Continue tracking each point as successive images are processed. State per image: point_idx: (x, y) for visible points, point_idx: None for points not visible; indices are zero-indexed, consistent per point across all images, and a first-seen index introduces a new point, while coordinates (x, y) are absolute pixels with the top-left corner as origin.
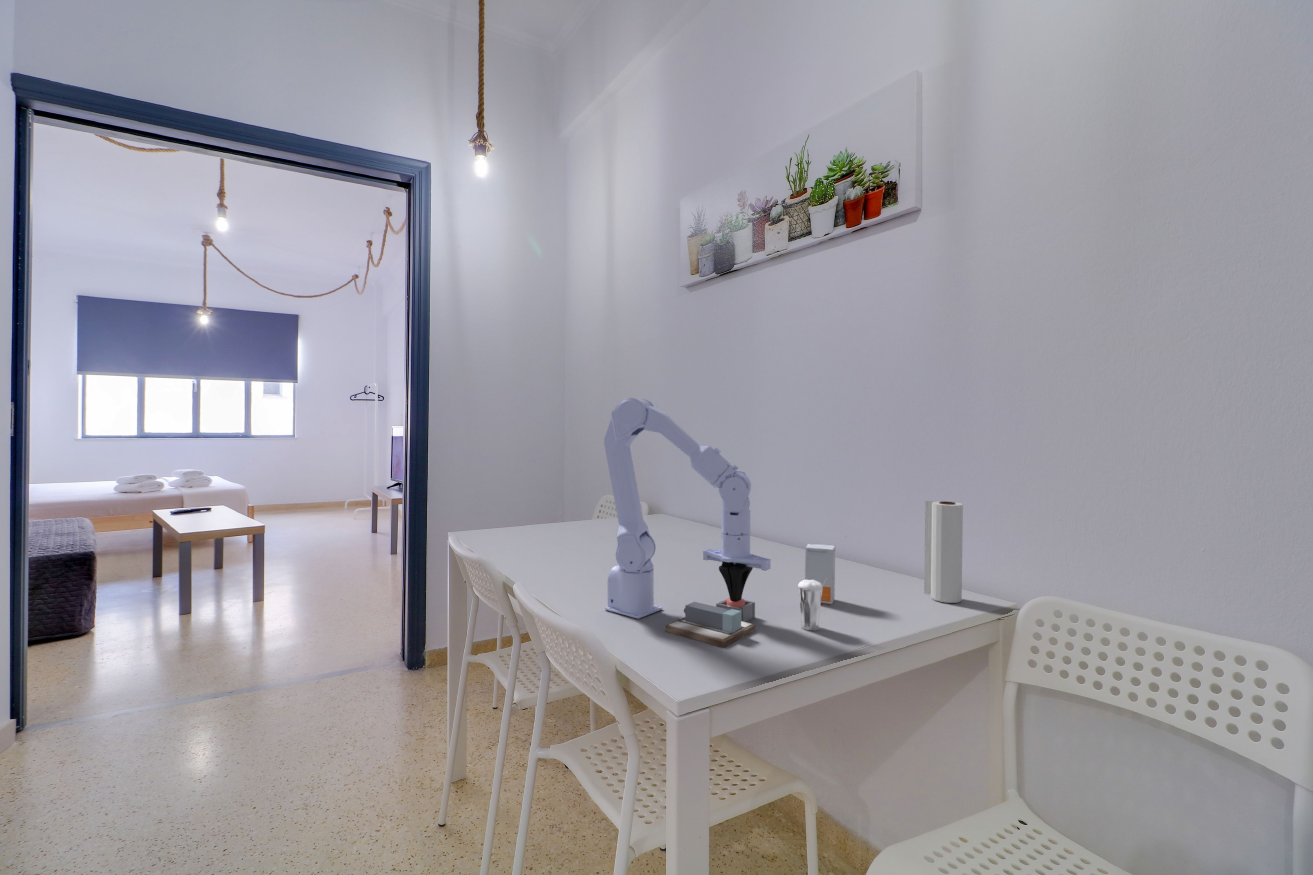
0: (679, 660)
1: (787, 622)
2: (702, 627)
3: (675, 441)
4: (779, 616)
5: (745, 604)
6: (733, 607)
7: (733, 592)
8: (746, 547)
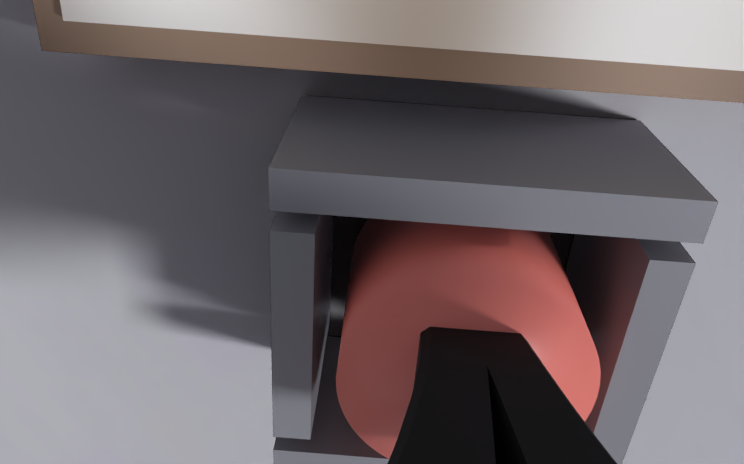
0: None
1: (2, 375)
2: None
3: None
4: (144, 455)
5: None
6: (401, 187)
7: (463, 410)
8: None
